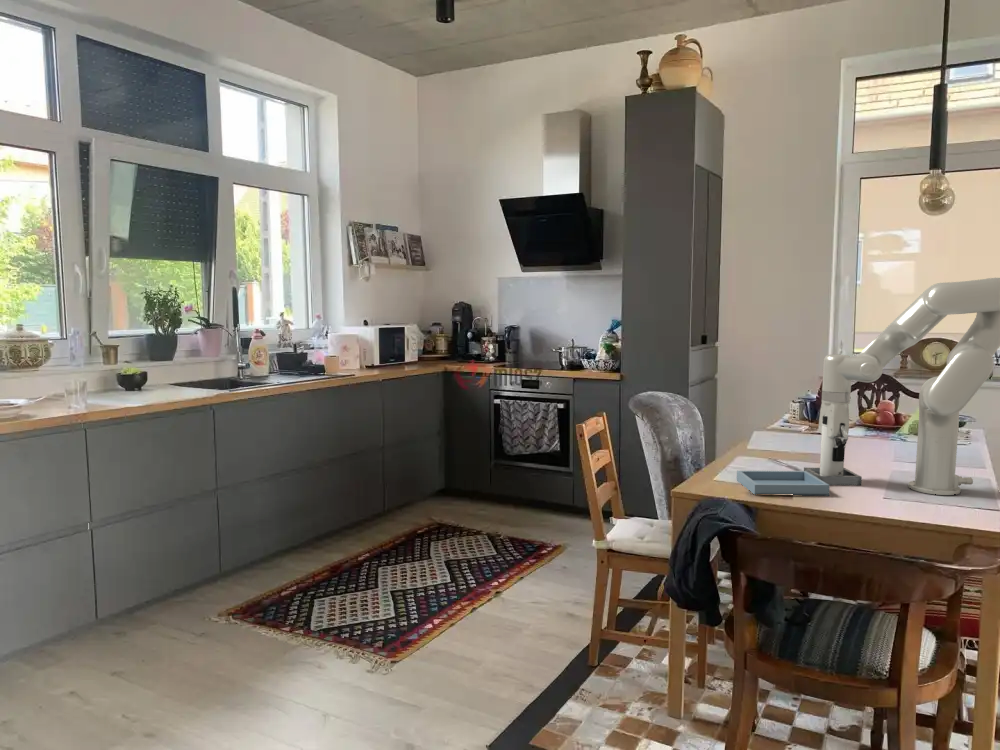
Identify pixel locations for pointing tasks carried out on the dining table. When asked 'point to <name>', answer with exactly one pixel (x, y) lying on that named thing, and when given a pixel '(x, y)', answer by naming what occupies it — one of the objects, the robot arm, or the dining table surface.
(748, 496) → the dining table surface
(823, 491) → the tray
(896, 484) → the dining table surface
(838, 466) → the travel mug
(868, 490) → the dining table surface
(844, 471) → the small grey square tray
